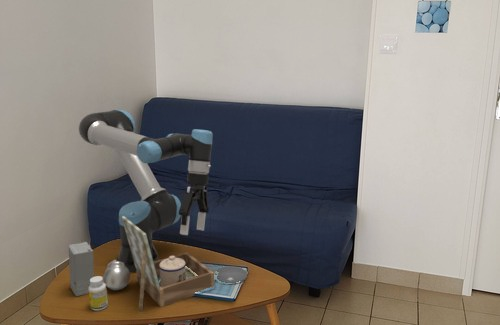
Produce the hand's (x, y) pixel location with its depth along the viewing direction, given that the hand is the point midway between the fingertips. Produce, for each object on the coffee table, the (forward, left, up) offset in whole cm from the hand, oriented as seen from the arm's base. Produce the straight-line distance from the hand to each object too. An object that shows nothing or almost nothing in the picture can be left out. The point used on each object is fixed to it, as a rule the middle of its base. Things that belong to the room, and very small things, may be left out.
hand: (192, 232), depth 165 cm
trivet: (+9, +10, -17) cm, 21 cm away
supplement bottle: (+1, -35, -17) cm, 39 cm away
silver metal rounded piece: (-7, -26, -17) cm, 32 cm away
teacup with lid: (+3, -9, -17) cm, 19 cm away
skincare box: (-13, -36, -17) cm, 42 cm away
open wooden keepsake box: (+3, -12, -17) cm, 21 cm away
